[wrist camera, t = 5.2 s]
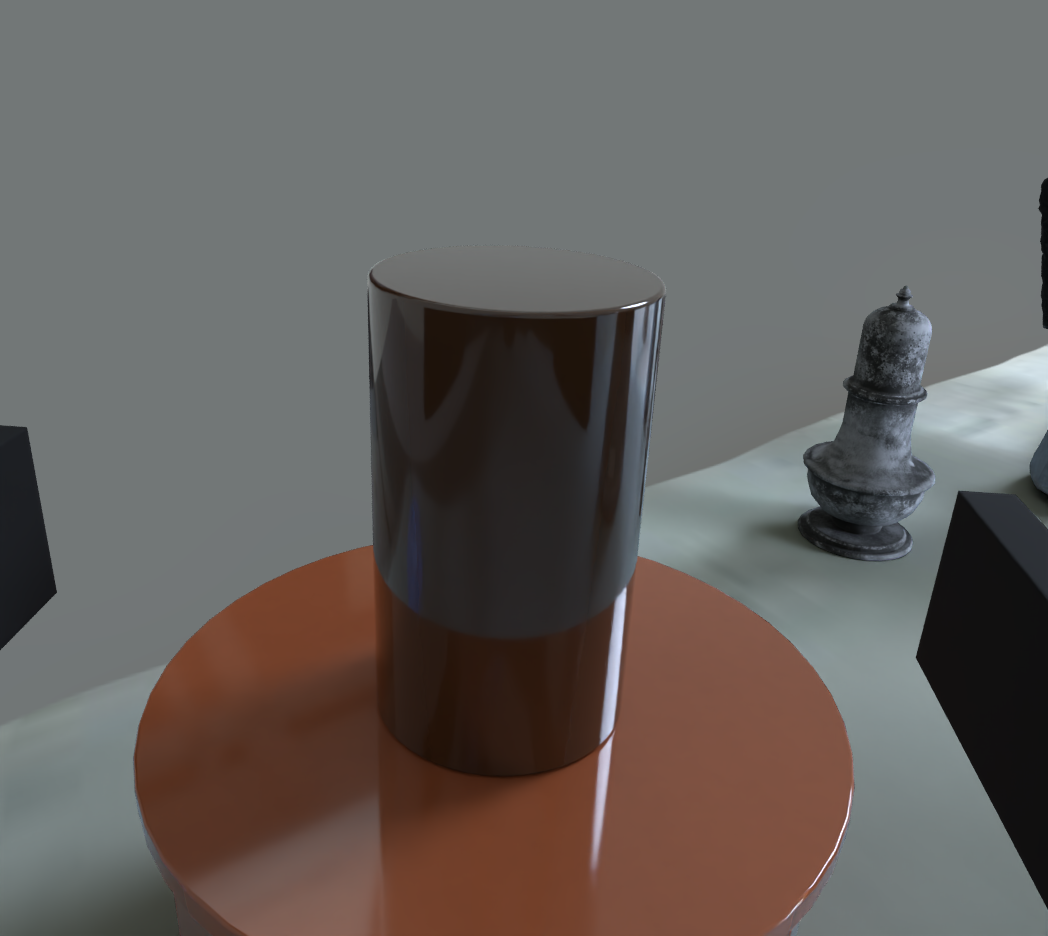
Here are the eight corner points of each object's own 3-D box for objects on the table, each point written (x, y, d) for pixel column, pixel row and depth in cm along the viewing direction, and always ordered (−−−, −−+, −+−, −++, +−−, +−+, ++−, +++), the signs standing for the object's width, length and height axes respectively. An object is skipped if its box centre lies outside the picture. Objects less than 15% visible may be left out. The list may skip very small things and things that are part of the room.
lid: (777, 589, 27) (842, 226, 23) (948, 1113, 14) (1177, 474, 10) (273, 551, 28) (248, 191, 24) (-25, 1014, 15) (-203, 379, 10)
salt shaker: (766, 516, 47) (806, 274, 42) (858, 498, 49) (906, 267, 44) (849, 573, 42) (906, 307, 37) (947, 551, 45) (1012, 298, 40)
